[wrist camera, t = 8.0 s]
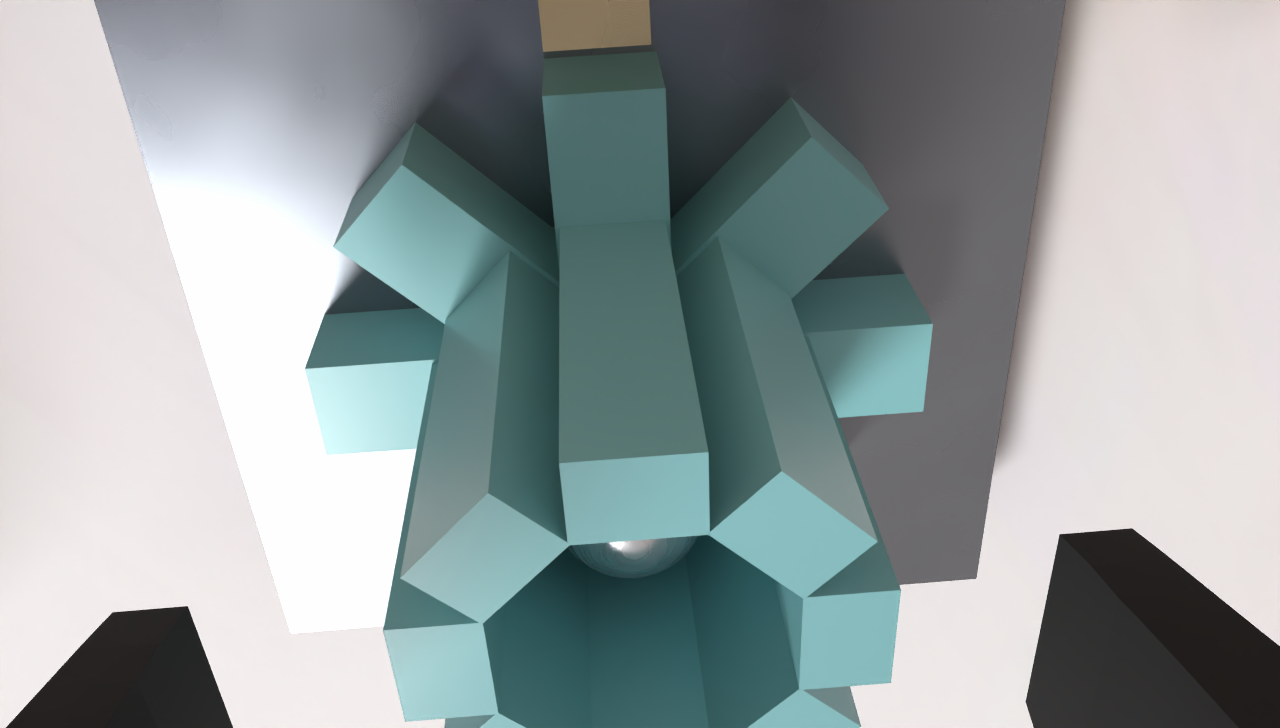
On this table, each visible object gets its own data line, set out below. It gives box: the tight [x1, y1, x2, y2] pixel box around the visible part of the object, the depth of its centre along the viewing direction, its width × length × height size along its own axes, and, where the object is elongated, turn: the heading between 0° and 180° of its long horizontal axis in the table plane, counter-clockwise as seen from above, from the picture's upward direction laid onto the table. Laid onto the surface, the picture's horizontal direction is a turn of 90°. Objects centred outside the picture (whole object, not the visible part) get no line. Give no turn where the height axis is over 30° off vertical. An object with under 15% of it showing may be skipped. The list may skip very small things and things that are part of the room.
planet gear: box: [304, 51, 933, 728], centre depth 11 cm, size 7×7×5 cm
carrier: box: [94, 0, 1066, 633], centre depth 11 cm, size 16×10×5 cm, turn 3°
